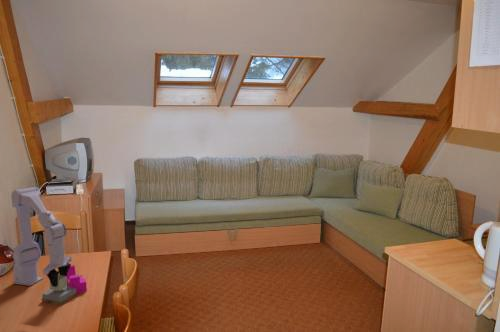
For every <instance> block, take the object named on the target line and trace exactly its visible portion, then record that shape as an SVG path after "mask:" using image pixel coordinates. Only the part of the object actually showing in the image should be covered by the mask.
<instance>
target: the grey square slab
mask: <svg viewBox="0 0 500 332" xmlns="http://www.w3.org/2000/svg"><path fill="white" fill-rule="evenodd" d="M75 296H76V294H73V295H71V296H69V297H68V298H66V299H64V300H63V301H61V302H56V301H52V300H48V299H44V298H43V297H42V298H41V303H45V304H50V305H56V306H61V305H63V304H64V303H66V302H67V301H70V300H71V299H72V298H74V297H75Z"/></svg>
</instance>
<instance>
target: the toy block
mask: <svg viewBox="0 0 500 332" xmlns="http://www.w3.org/2000/svg"><path fill="white" fill-rule="evenodd" d="M67 286H68V287H73V288H76V293H75V295H77V294H79V293H83V292H87V291H88V288H87V280H86V278H85V277H83V275H81V274H78V273H77V274H76V267H75V264H71V266H70V268H69V270H68V273H67Z"/></svg>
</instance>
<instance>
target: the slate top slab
mask: <svg viewBox="0 0 500 332" xmlns="http://www.w3.org/2000/svg"><path fill="white" fill-rule="evenodd" d="M75 293H76V288H73V287H68V285H67V286H66V287H65V288H63V289H62V290H60V291H57V290H51V289H50V288H49V290H46V291H45V292H42V294H41V295H42V298H44V299H48V300H52V301H56V302H61V301H63V300H64V299H66V298H68V297H69V296H71V295H73V294H75ZM76 294H77V293H76ZM76 294H75V295H76Z"/></svg>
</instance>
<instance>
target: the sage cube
mask: <svg viewBox="0 0 500 332" xmlns="http://www.w3.org/2000/svg"><path fill="white" fill-rule="evenodd" d="M66 286H68V285H67V277H66V276H63V275H58V285H57V287H53V286H52V284H51V282H50V281H49V290H50V289H51V290H57V291H60V290H62V289H63V288H65V287H66Z"/></svg>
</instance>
